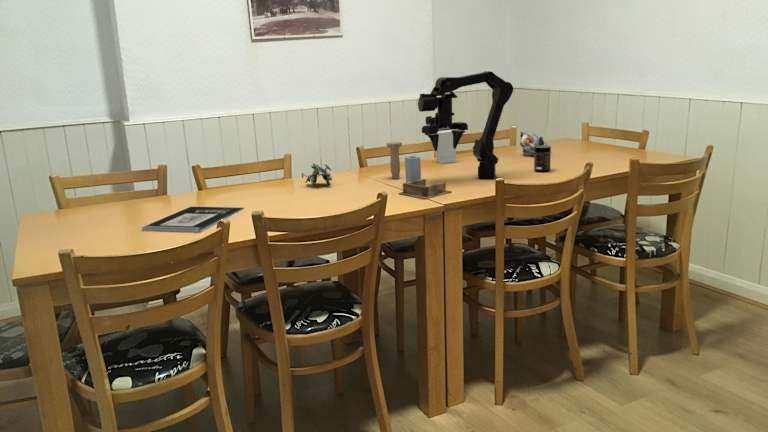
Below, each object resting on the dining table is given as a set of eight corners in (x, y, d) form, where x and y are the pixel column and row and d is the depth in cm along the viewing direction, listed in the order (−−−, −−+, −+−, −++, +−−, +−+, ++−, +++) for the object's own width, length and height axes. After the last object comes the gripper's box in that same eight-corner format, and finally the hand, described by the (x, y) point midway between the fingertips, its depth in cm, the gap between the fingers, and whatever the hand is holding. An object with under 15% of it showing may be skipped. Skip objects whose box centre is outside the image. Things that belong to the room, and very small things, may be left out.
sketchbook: (244, 211, 228) (243, 205, 227) (199, 235, 200) (198, 228, 199) (191, 209, 234) (190, 204, 233) (140, 232, 206) (139, 226, 205)
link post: (416, 185, 252) (415, 155, 249) (421, 188, 248) (420, 156, 245) (405, 187, 250) (404, 156, 247) (410, 189, 246) (409, 158, 243)
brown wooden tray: (425, 187, 248) (424, 177, 247) (451, 192, 238) (451, 182, 237) (398, 194, 239) (398, 183, 238) (424, 199, 229) (424, 188, 228)
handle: (404, 178, 267) (403, 143, 263) (390, 180, 265) (389, 144, 261) (400, 176, 272) (399, 141, 268) (386, 178, 270) (385, 143, 266)
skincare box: (452, 160, 303) (451, 129, 299) (456, 162, 297) (456, 130, 294) (435, 162, 301) (434, 130, 298) (439, 164, 296) (438, 132, 292)
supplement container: (552, 170, 270) (553, 145, 267) (547, 173, 264) (547, 148, 262) (537, 169, 273) (537, 145, 271) (531, 172, 268) (531, 147, 265)
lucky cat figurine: (554, 156, 301) (546, 132, 294) (531, 167, 303) (522, 143, 295) (543, 142, 314) (535, 119, 307) (521, 153, 315) (512, 130, 308)
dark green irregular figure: (328, 197, 263) (339, 176, 256) (305, 197, 257) (315, 175, 250) (319, 179, 270) (329, 157, 263) (296, 178, 264) (306, 156, 257)
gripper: (451, 107, 260) (452, 145, 264) (413, 110, 251) (414, 150, 255) (468, 108, 251) (468, 148, 255) (429, 112, 242) (430, 153, 246)
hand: (445, 149), depth 253 cm, fingers open, 9 cm apart
